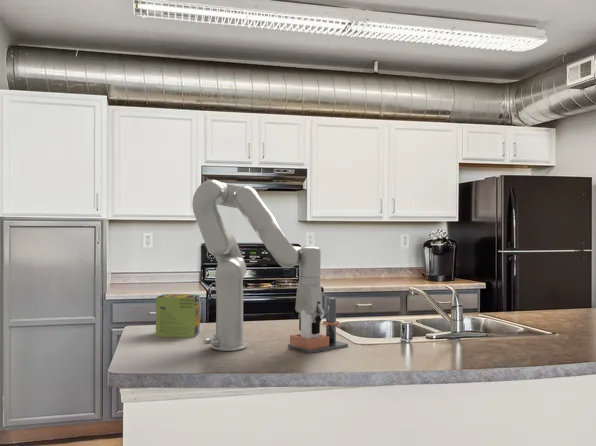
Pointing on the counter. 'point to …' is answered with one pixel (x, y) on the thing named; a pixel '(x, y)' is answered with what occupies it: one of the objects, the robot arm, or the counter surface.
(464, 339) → the counter surface
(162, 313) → the protein box
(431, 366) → the counter surface
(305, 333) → the can
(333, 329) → the grey and orange stand
